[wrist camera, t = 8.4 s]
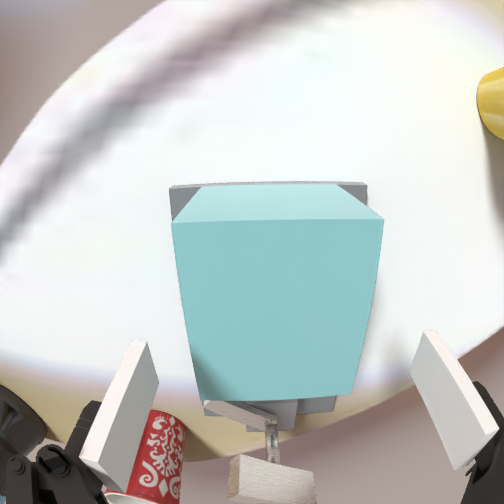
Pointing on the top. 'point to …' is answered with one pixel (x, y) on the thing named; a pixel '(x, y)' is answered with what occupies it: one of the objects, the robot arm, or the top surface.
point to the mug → (155, 464)
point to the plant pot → (492, 102)
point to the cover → (276, 288)
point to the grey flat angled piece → (263, 463)
